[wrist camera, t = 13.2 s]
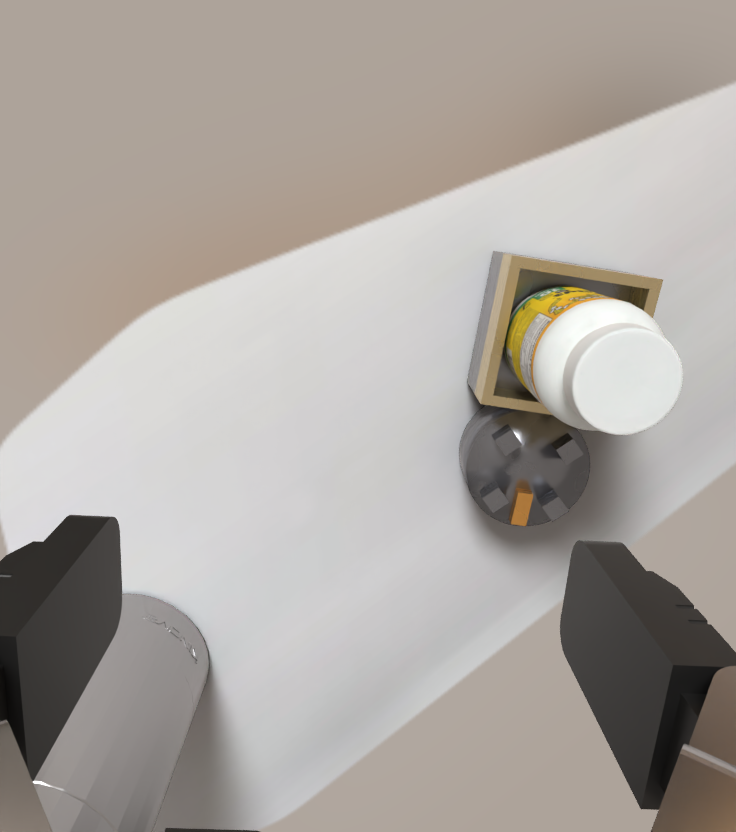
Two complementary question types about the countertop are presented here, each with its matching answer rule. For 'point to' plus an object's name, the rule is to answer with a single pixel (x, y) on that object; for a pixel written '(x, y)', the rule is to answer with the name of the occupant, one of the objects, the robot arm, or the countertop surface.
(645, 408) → the supplement bottle
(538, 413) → the tan and grey box
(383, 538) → the countertop surface
